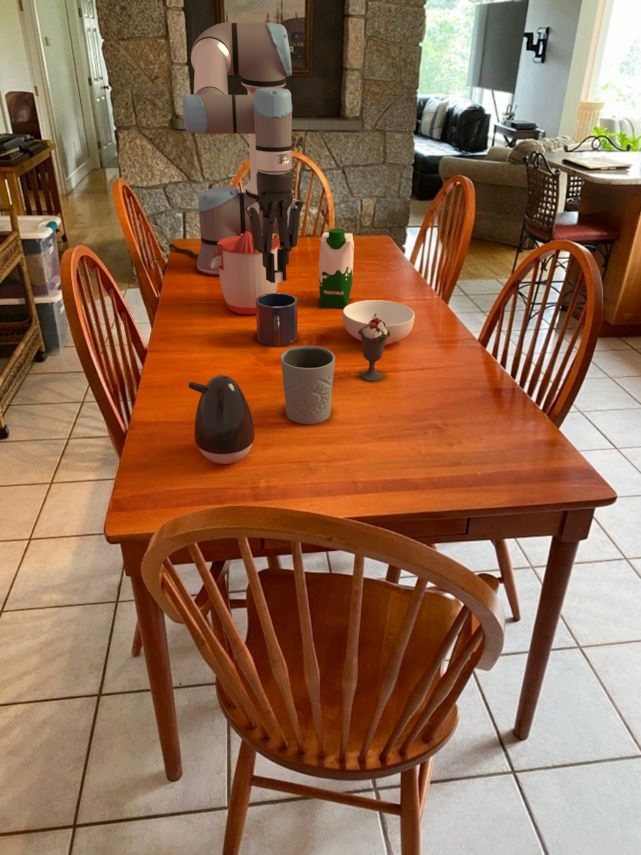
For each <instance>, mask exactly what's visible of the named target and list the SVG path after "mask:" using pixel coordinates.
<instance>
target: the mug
mask: <svg viewBox="0 0 641 855" xmlns="http://www.w3.org/2000/svg"><path fill="white" fill-rule="evenodd" d="M255 318H256V338H257V341H258V342H259V343H260V344H262V345H265V346H270V347H284V346H285V347H286V346H290V345H292V344H294V343H295V342H296V341H297V340H298V298H297V297H296V296H295V295H292V294H289V293H283V292H277V293H269V294H264V295H261V296H259V297H258V298H256V314H255Z"/></svg>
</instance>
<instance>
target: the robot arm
mask: <svg viewBox="0 0 641 855" xmlns="http://www.w3.org/2000/svg"><path fill="white" fill-rule="evenodd" d="M190 63H191V66H192V68H193V71H194V77H193V78H194V80H193V94H186V95H184V96H183V97H182V114H183V116H182V117H183V124H184V128H185V129H184V130H185V131H186V132H187V133H188V134H189V133H190V134H200V135H203V136H204V135H221V134H222V135H225V134H227V135H229V134H230V135H232V134H233V135H235V134H239V135H241V134H242V135H247V134H248V141H249V170H250V172H249V174H250V181H249V182H248V183H247V184H246V185H245V192H239V189H238V187H237V186H234V185H233V186H229V185H227V186H226V185H225V186H216V187H213V188H212V187H211V188H209V189H206V190H204V191H202V192H201V193H199V195H198V198H197V199H198V200H197V201H198V203H197V204H198V208H197V212H198V216H199V231H200V247H199V251H198V253H194V252H193V251H192V250H191V249H188V248H181V247H178V246H176V245H175V244H174V243H169V245H168V248H169V249H171V248H173V249H174V250H176V251H177V252H182V253H189V254H190V255H191V256H192V257H194V258H197V259H196V270H197V271H198V272H199V273H200V274H202V275H207V276H213V277H220V276H219V267H217V268H211V262H212V259H213V258H215V257H218V253H217V243H218V242H219V241H220V240H222V239H225V238H229V237H234V236H241V235H243V234H244V233H245V232H246V231H248V232H250V233H251V234H252V239H253V246H254V249H255V250H257V251H259V252H261V253H262V262H263V267H265V268H266V280H268V281H269V282H271V283H275V264H274V254H273V253H271V247H272V239H273V235H274V234H278V241H279V242H278V243H279V248H278V249H277V270H278V271H281V272H283V282H285V281H287V265H289V264H290V252H292V250H293V248H296V247H297V246H298V238H299V228H300V217H301V211H302V210H303V207H304V202H303V201H301V200H298V199H295V198H294V196H293V193H292V189H293V173H292V172H291V170H292V169H293V146H292V138H293V137H292V134H293V132H292V131H293V127H292V126H293V123H292V122H293V121H292V120H293V104H292V93H291V90H289V89H288V88H284V87H285V86H286V85H287V78H288V77H290V76H292V74H293V73H292V72H293V71H292V57H291V50H290V43H289V36H288V31H287V29H286V26H284V25H283V24H281V23H272V22H230V21H229V22H227V21H226V22H221V23H217V24H214V25H212V26H211V27H208V28H207V29H206V30H204V31H203V32H202V33H200V35H199V36H198V37H197V38H196V40H195V41H194V43H193V44H192V47H191V52H190ZM228 76H240V77H241V78H240V79H241V81H240V82H241V85H242V86H243V87H244V88H245V89H246V90H247V94H229V89H228V86H229V85H228Z"/></svg>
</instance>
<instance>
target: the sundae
mask: <svg viewBox="0 0 641 855" xmlns="http://www.w3.org/2000/svg"><path fill="white" fill-rule="evenodd" d="M374 316H376V313H375V314H374ZM373 318H374V317H373ZM358 334H359V335H361V340H362V341H361V340H360V341H361V349H362V350H361V351H362V357H363V358H364V359H365V360H366V361H368V369H367V370H364V371H361V372H360V374H359V377H360V379H362V380H364V381H366V382H377V381H380V380H382V379H383V377H384V376H383V373H381V372H380V371H377V370H376V368H375V365H376V362H377V361H379V360H381V359H382V357H383V353H384V350H385V346H386V345H385V341H386V338H388V337H390V332H389V330H388V329H386V328H385V323H384V322H383V321H381V320H380V319H379V318H376V317H375V319H372V320H371V321H370V322H369V323H368V325H367V326H366V327H363V328H361V329H360V330H359V331H358Z"/></svg>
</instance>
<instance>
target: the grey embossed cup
mask: <svg viewBox="0 0 641 855" xmlns="http://www.w3.org/2000/svg"><path fill="white" fill-rule="evenodd" d="M280 365H281V366H280V367H281V374H282V383H283V390H284V402H285V412H286V416H287V418H288V419H289V420H291V422H294V423H298V424H302V425H317V424H321V423H323V422H325V421H327V420H328V419H329V417H330V416H331V413H332V396H333V385H334V384H333V383H334V376H335V375H334V374H335V366H336V356H335V354H334V353H333V351H331V350H329V349H328V348H325V347H321V346H315V345H301V346H295V347H291V348H288V349H286V350H285V351H283V352H282V353H281V355H280Z"/></svg>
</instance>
